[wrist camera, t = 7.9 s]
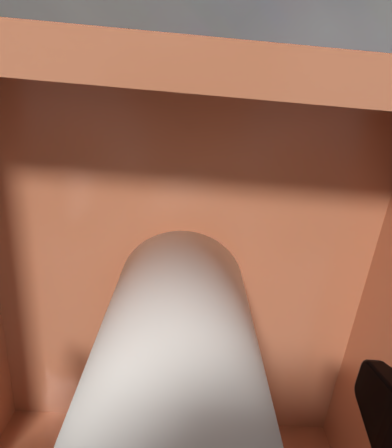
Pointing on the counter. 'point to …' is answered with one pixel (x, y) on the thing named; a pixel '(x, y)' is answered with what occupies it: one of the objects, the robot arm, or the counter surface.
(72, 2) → the counter surface
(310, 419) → the salmon square tray
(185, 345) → the white cylinder with knob
